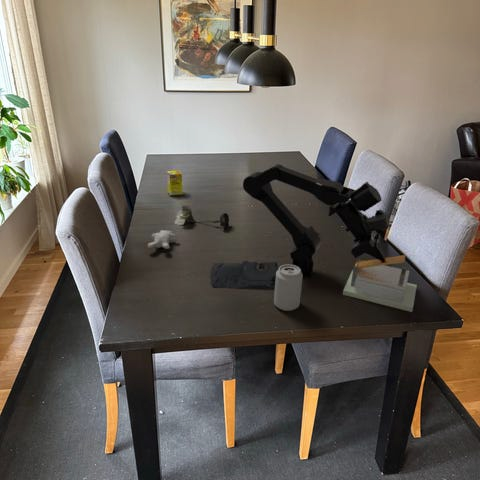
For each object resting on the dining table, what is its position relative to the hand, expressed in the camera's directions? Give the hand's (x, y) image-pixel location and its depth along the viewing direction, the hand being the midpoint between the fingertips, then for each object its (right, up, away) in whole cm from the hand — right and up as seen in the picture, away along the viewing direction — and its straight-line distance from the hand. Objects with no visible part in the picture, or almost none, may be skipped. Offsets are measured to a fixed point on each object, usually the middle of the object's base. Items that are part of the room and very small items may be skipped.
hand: (383, 260), depth 128 cm
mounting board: (0, -10, +4) cm, 11 cm away
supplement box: (-74, +28, +79) cm, 112 cm away
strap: (-1, -1, +1) cm, 2 cm away
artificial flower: (-59, +12, +47) cm, 76 cm away
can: (-30, -13, -4) cm, 32 cm away
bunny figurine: (-71, +4, +28) cm, 77 cm away
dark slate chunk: (-42, -6, +10) cm, 43 cm away
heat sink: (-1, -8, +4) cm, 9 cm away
